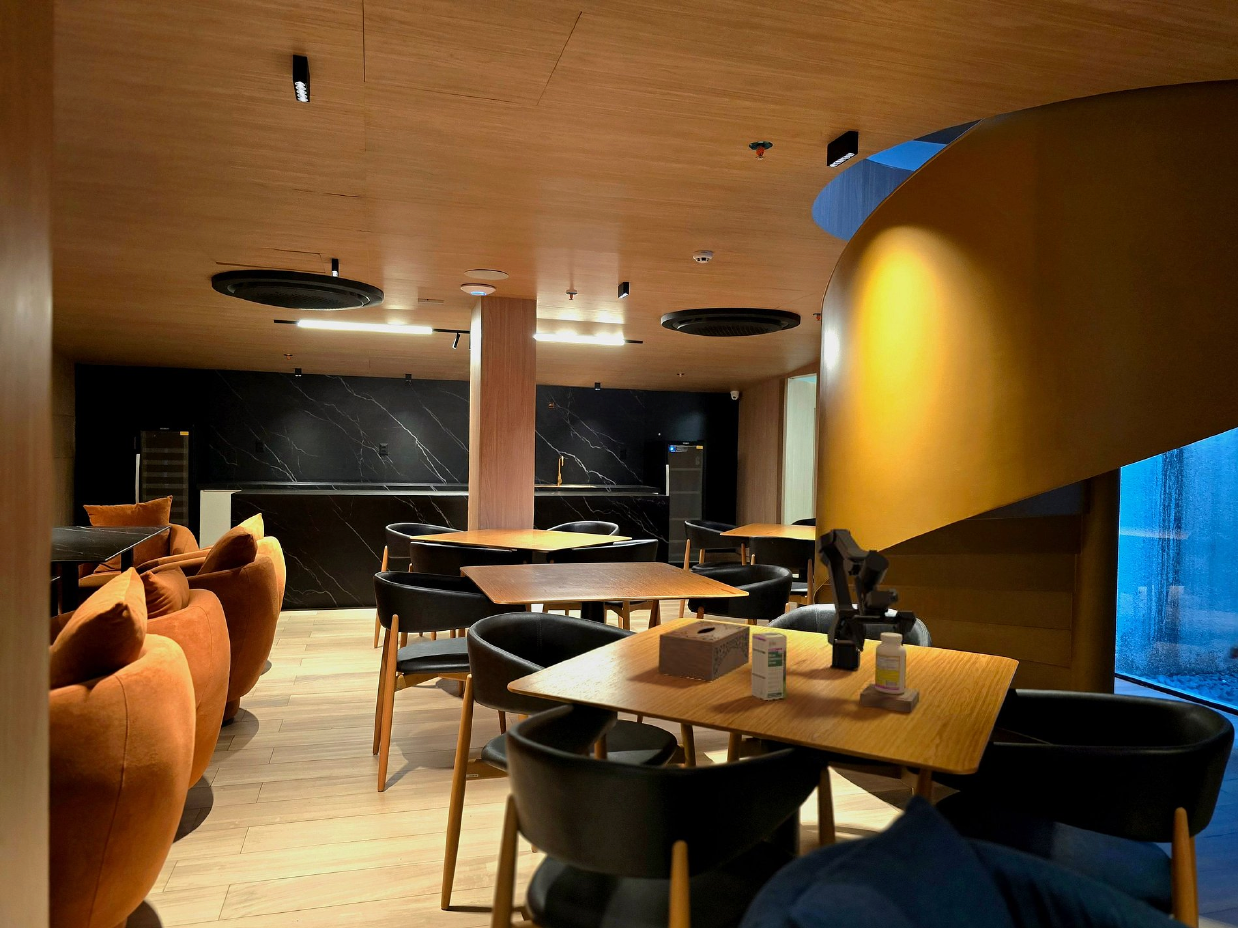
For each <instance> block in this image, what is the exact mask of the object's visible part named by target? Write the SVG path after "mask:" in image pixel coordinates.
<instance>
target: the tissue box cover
mask: <svg viewBox="0 0 1238 928" xmlns="http://www.w3.org/2000/svg"><path fill="white" fill-rule="evenodd" d="M750 634H751V626H748V625H741V624H735V623H726V622H725V623H724V622H718V621H717V622H716V621H710V620H709V621H708V620H702V619H700V620H698V621H694V622H692V623H689V624H687V625H683V626H681V627H678V628H675V629H673V630H670V631H667V632H663V633H661V634H659V640H658V641H659V645H658V649H659V650H658V671H657V672H658V673H660V674H659V675H663V674H668V675H667V676H670V675H673V676H672V677H676V676H681V677H680V678H682V677H689V678H694V679H701V680H705V681H704V682H707V681H713V682H715V681H717V680H719V679H720V678H719V677H721V678H722V677H724V676H727V674H729V673H732V672H733V670H734V671H735V670H737V669H739V668H741V667H743V666H744V664H745V665H747V664H748V663H750V660H749V659H750ZM718 678H719V679H718ZM694 679H693V680H694ZM716 679H717V680H716ZM701 680H700V681H701ZM714 680H715V681H714Z"/></svg>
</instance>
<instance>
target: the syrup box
mask: <svg viewBox="0 0 1238 928" xmlns="http://www.w3.org/2000/svg"><path fill="white" fill-rule="evenodd" d="M787 643H788V638H787V635H785V634H784V633H780V632H777V631H767V632H766V631H765V632H756V633H754V632H753V633H752V634H751V687H750V688H751V691H750V692H751V695H752V696H753V697H755V696H756V697H755V698H757V697H758V698H757V699H760V698H762V699H764V700H763V701H765V700H768V701H774V700H773V699H775V700H780V699H779V698H785V699H786V697H787V696H786V695H787V693H786V692H787V652H788V651H787V645H788V644H787ZM762 699H761V700H762Z"/></svg>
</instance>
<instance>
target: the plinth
mask: <svg viewBox="0 0 1238 928" xmlns="http://www.w3.org/2000/svg"><path fill="white" fill-rule="evenodd" d="M919 702H920V690H919V689H911V688H906V689H905V692H904V693H901V694H888V693H883V692H880V691H878V690H876V688H875V683H871V682H870V683H869V684H868V685H867V686H866V687H865V688H864V689H863V690H862V691H861V692H860V693H859V705H860V706H865V707H870V708H877V707H879V708H878V709H884V710H889V709H890V710H891V711H896V712H903V713H910V714H912V713H913V711H914V710H915V708H916V707H917V705H918V704H919Z"/></svg>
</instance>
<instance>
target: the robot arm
mask: <svg viewBox="0 0 1238 928" xmlns="http://www.w3.org/2000/svg"><path fill="white" fill-rule="evenodd" d="M851 533H852V532H851V530H850V529H847V528H832V529H830V530H829V532H826V533H824V534H822V535H820V536H819V537H818V538H817V539H816V542H815V552H816V554H817V555H818V559H819V561H820V563H821V564H823V565H824V567H826V570H827V575H828V579H829V585H830V590H831V595H832V600H833V606H834V611H835V613H834V616H833V618H832V620H831V624H830V626H829V630H828V632H827V634H826V636H827V637H826V638H827V643H828V644H830V645H831V646H832V647H831V648H832V650H831V652H832V653H831V665H829V668H831V669H836V670H842V671H849V672H855V671H856V670H858V669H859V668H860V667H861V653H863V652H864V649H865V648H864V646H865V643H866V637H867V630H868V628H867V627H866V626H867V625H869V626H870V625H873V626H892V630H893V631H894V632H893V633H897V634H901V635H902V642H901V645H902V646H903V647H904V642H905V636H906V635H907V634H908V633H911V632H912V630H913V628H914V626H915V624H916V622H917V620H918V619H917V615H916V613H915V612H914V611H912V610H897V611H896V613H895V615H894V616H889V615H887V616H886V613H888V612H889V610H890V609H889V606H892V604H893V605H896V604H897V603H898V602H899V594H898V591H897V589H896V588H893V589H892V588H889V589H888V590H879V589H880V588H879V585H880V584H881V583H882V582H883V579H884V577H885V575H886V573H887V570H888V569H889V565H890V562H889V560H888V559H887V558H886V557H885V556H884V555H882V554H881V553H879V552H878V550H877V549H869V550H865V549H862V548H861V547H860V546H859V544H858V543H857V541H856V540H855V539H854V538H853V536H852V535H851ZM847 576H849V577H854V578H853V581H852V586H853V587H852V592H854V593H855V598H856V601H857V604H856V608H854V605H853V601H852V596H851V591H850V586H849V582H848V581H849V580H848V577H847Z"/></svg>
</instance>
